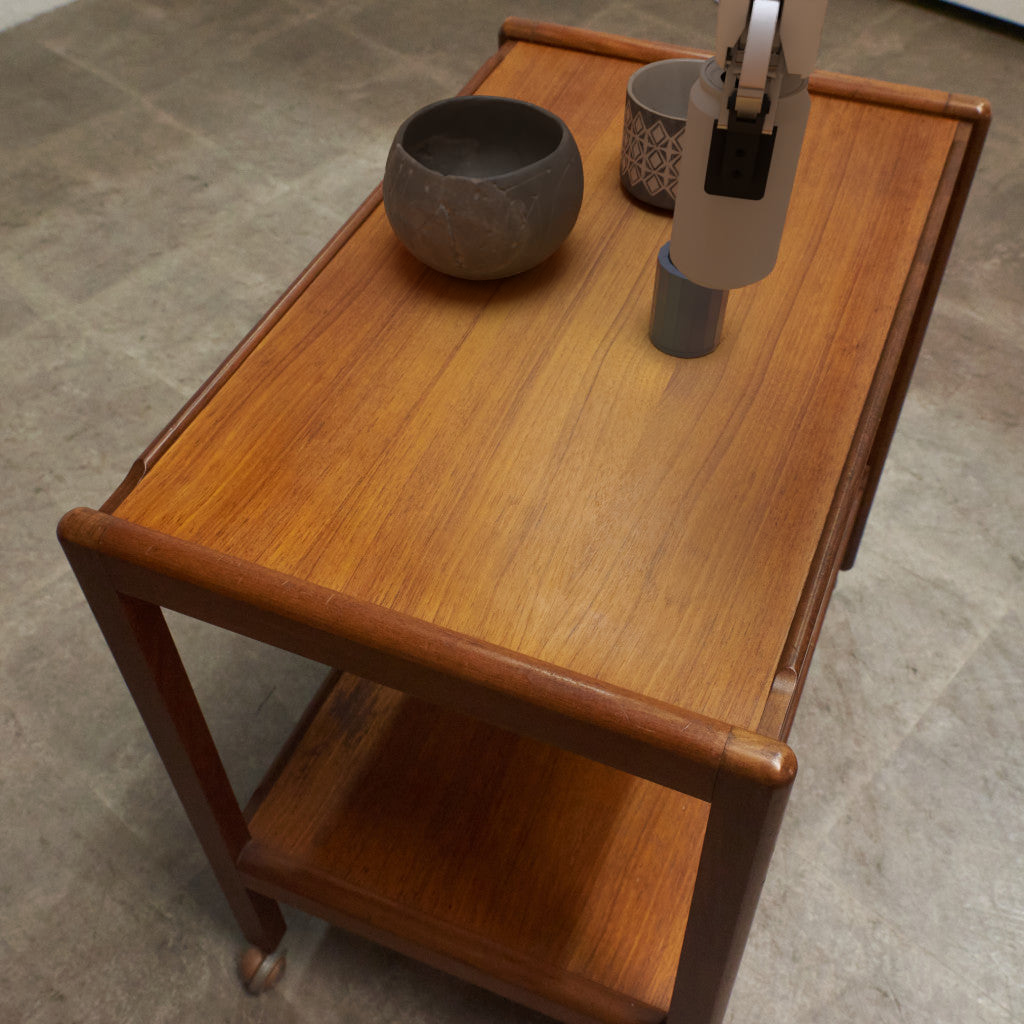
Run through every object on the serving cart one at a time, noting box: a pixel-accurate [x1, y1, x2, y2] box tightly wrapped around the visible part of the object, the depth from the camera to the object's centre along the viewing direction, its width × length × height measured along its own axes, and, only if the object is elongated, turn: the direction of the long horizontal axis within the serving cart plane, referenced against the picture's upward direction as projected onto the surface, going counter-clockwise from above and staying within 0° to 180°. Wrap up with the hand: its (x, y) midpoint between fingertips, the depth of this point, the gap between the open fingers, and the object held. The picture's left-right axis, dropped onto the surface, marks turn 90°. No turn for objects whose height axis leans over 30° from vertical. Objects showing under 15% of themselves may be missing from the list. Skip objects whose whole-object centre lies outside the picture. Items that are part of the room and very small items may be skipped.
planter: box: [618, 57, 707, 211], centre depth 105 cm, size 13×13×10 cm
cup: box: [648, 240, 731, 359], centre depth 90 cm, size 6×6×8 cm
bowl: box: [382, 94, 585, 281], centre depth 96 cm, size 18×18×13 cm
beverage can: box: [669, 49, 812, 291], centre depth 60 cm, size 6×6×12 cm
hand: (740, 158), depth 59 cm, fingers closed on beverage can, 6 cm apart
